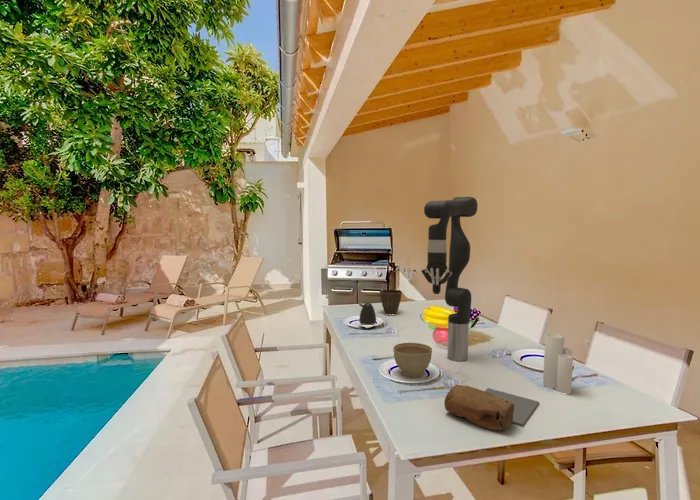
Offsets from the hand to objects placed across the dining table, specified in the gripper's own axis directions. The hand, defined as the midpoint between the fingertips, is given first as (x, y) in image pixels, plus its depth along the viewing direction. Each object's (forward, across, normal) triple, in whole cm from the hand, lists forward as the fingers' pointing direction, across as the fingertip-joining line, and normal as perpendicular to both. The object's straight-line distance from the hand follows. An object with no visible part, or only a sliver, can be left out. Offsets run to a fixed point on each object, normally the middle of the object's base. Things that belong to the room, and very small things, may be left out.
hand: (436, 293), depth 158 cm
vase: (+35, -42, -20) cm, 58 cm away
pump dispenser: (+35, +66, -44) cm, 87 cm away
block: (+30, -16, +21) cm, 41 cm away
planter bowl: (+35, +9, +2) cm, 36 cm away
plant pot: (+36, +73, -82) cm, 116 cm away
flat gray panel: (+35, -30, +8) cm, 47 cm away
